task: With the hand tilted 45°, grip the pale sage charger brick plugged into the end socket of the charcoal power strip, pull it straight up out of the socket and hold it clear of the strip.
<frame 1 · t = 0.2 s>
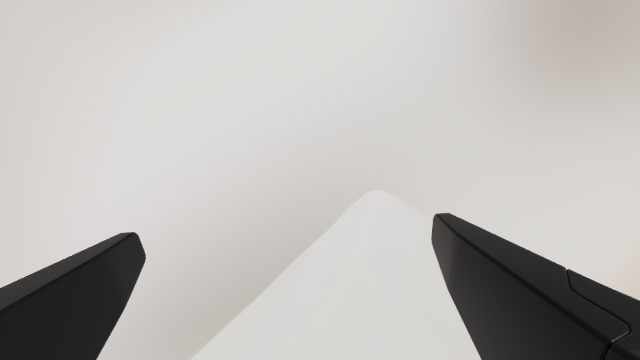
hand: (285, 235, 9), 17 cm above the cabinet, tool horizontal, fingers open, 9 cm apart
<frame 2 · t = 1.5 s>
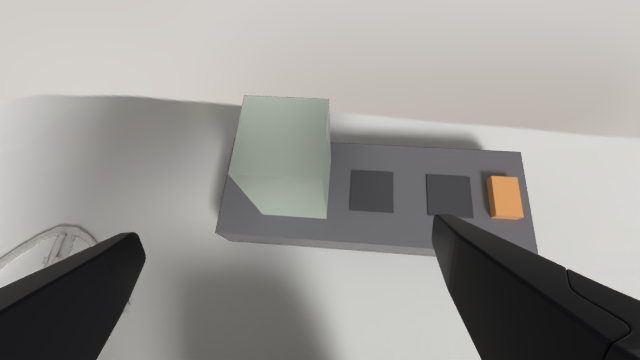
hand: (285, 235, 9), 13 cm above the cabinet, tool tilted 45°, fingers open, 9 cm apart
power strip: (367, 204, 23), on the cabinet
charger: (301, 197, 23), resting in power strip
crossbow: (38, 342, 21), on the cabinet
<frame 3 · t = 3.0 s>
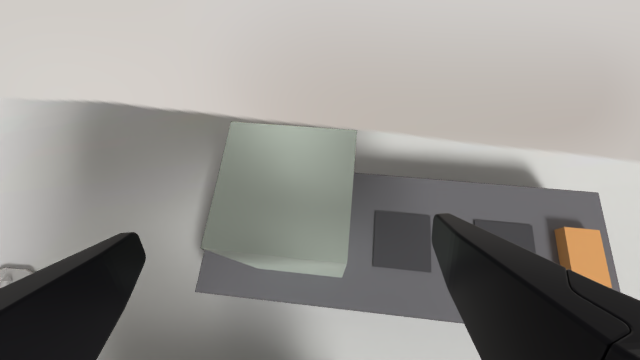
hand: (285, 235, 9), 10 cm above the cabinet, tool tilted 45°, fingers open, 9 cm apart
power strip: (391, 249, 18), on the cabinet
charger: (308, 239, 18), resting in power strip
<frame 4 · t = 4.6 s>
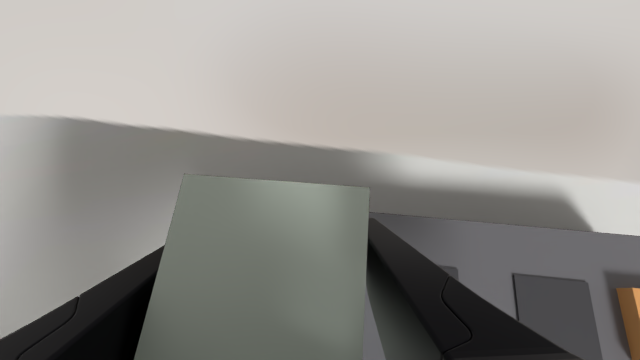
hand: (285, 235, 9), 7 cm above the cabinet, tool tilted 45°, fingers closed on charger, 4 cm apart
power strip: (406, 300, 15), on the cabinet
charger: (305, 289, 15), point 1 cm above the cabinet, touching gripper, power strip
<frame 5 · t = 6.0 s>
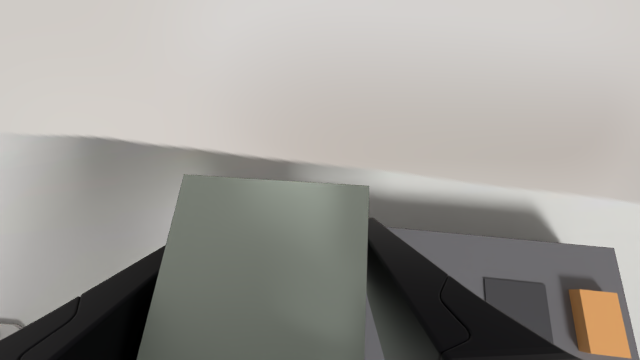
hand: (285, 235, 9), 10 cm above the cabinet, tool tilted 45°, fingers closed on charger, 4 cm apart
power strip: (396, 300, 18), on the cabinet
charger: (304, 288, 15), point 3 cm above the cabinet, touching gripper
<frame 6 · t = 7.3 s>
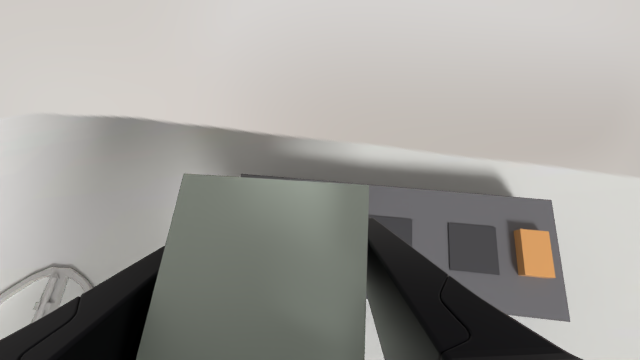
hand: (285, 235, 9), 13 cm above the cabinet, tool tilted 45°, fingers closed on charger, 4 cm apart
power strip: (381, 246, 22), on the cabinet
charger: (304, 288, 15), point 6 cm above the cabinet, touching gripper
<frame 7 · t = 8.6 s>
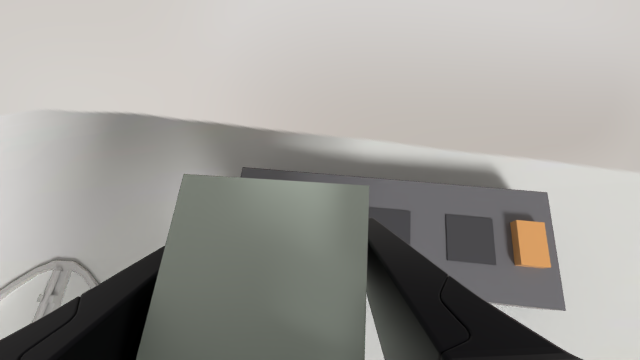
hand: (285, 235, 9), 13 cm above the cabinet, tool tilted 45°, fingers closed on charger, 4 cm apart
power strip: (380, 239, 22), on the cabinet
charger: (304, 288, 15), point 6 cm above the cabinet, touching gripper
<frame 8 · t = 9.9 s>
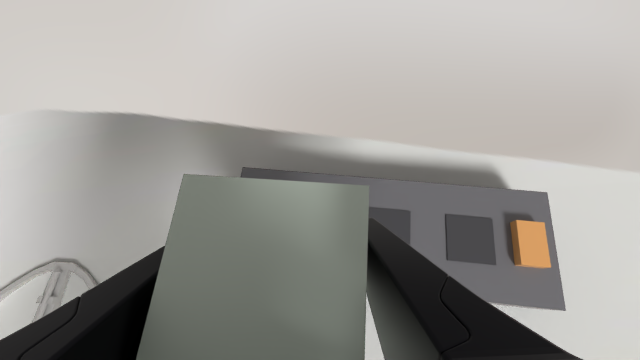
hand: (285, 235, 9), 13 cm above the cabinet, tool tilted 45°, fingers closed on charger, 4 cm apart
power strip: (380, 239, 22), on the cabinet
charger: (304, 288, 15), point 6 cm above the cabinet, touching gripper
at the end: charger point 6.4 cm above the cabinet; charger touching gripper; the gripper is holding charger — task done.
